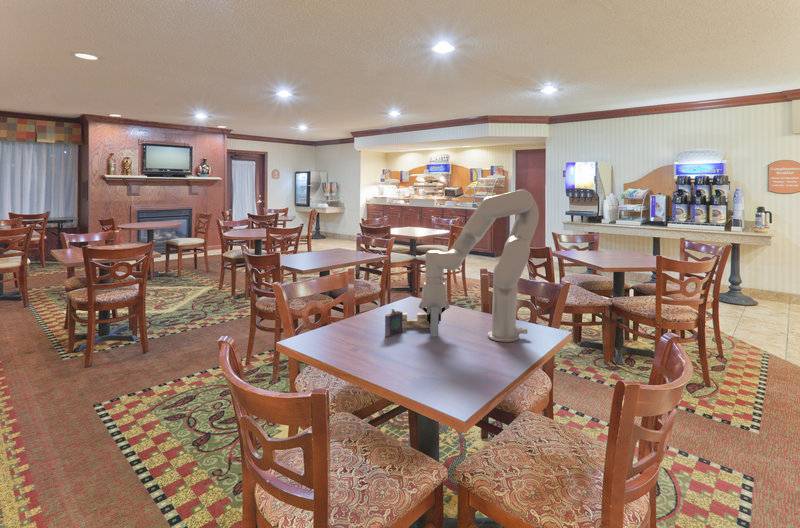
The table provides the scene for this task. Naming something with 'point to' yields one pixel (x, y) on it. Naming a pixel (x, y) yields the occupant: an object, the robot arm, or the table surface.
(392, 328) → the flask
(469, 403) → the table surface
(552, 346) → the table surface
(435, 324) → the flat gray plate
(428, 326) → the rail
